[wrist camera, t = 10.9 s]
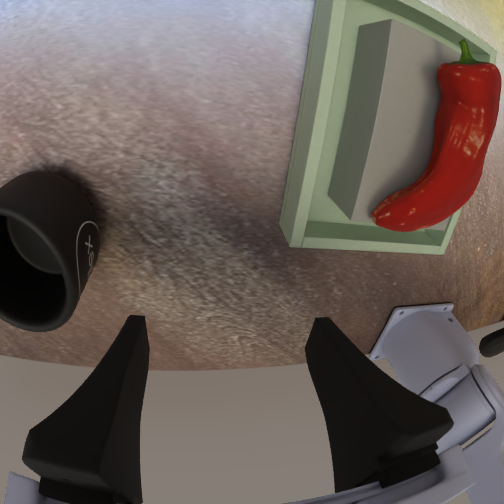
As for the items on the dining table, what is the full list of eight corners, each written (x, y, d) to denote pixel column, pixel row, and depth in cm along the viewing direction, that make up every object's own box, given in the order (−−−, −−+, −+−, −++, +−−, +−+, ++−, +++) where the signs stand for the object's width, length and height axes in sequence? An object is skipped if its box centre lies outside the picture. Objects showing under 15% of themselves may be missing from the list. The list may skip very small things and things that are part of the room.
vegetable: (449, 17, 8) (370, 236, 15) (534, 75, 7) (450, 267, 15) (423, 27, 11) (364, 200, 19) (496, 69, 11) (432, 227, 18)
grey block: (449, 64, 16) (486, 70, 12) (415, 207, 22) (444, 231, 18) (358, 25, 14) (392, 18, 11) (327, 195, 20) (350, 221, 17)
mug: (112, 169, 18) (70, 216, 12) (106, 279, 22) (83, 346, 16) (-20, 156, 15) (-79, 193, 9) (-9, 255, 19) (-49, 307, 13)
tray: (468, 48, 15) (497, 50, 13) (422, 235, 24) (443, 255, 22) (317, -20, 13) (337, -34, 10) (278, 223, 22) (289, 247, 19)
